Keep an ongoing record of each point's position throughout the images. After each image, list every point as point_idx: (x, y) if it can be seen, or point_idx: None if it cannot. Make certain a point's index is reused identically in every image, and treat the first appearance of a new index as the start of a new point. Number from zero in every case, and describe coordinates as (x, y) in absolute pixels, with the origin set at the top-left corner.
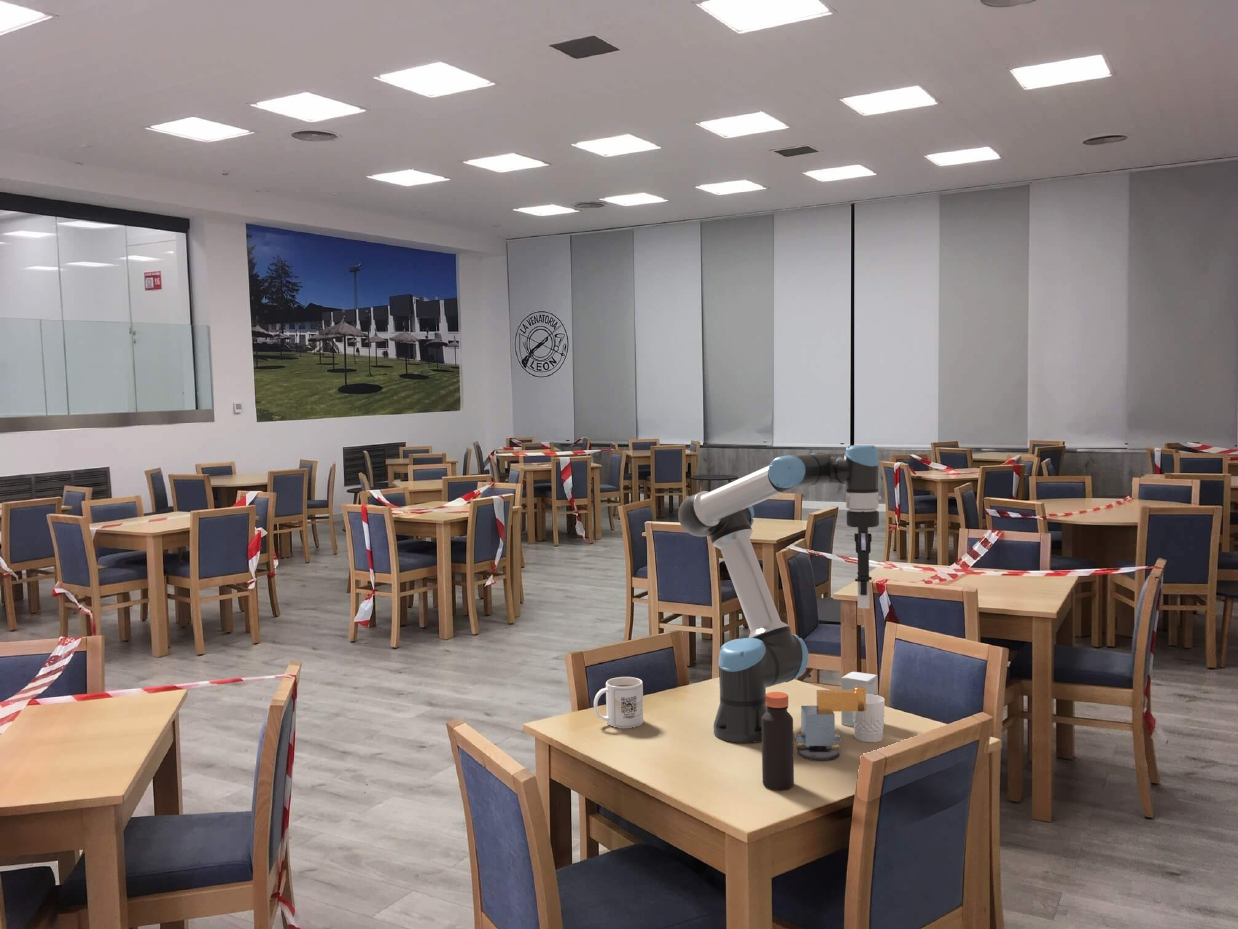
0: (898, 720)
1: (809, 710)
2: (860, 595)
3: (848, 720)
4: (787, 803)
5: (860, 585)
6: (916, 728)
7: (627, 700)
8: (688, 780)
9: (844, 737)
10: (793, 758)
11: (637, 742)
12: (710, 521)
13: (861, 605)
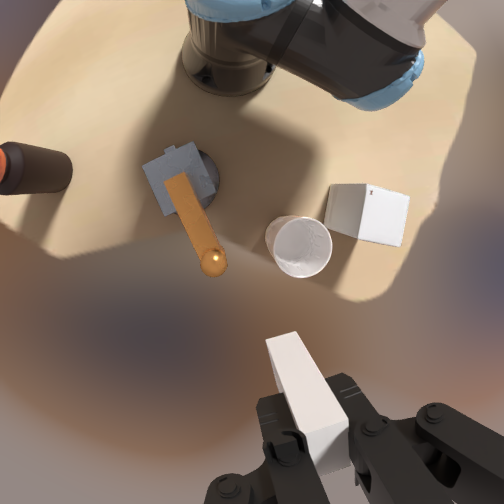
0: (375, 260)
1: (169, 164)
2: (281, 387)
3: (331, 196)
4: (19, 203)
5: (296, 427)
6: (349, 290)
7: None
8: (41, 73)
9: (274, 201)
10: (43, 191)
11: None
12: None
13: (271, 361)
